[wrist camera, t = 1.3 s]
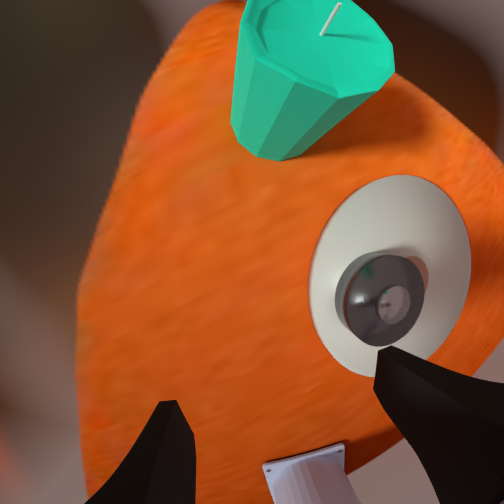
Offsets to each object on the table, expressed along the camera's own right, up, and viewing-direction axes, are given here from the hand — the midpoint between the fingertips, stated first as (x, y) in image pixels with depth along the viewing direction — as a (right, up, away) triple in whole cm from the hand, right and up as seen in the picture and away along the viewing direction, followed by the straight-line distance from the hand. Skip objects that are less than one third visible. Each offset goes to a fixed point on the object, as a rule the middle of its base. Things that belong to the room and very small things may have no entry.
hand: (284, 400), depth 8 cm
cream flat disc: (+11, +3, +11) cm, 16 cm away
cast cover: (+7, +2, +10) cm, 12 cm away
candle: (0, +14, +9) cm, 17 cm away
